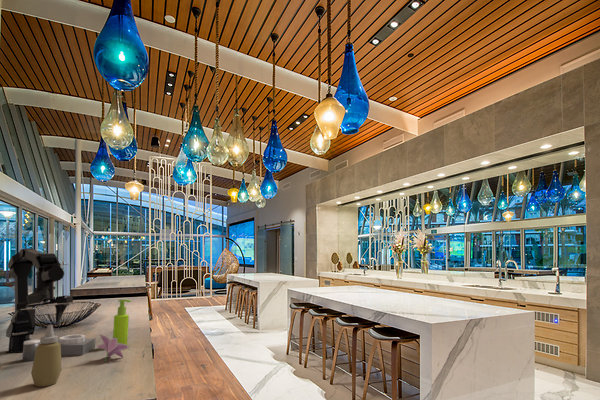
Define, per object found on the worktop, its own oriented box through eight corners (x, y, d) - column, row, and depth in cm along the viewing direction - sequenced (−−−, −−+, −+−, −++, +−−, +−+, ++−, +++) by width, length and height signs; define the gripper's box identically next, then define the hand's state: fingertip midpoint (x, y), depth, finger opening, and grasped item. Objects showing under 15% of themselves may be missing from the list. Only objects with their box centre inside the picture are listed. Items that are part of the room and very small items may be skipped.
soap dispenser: (123, 348, 169) (126, 300, 171) (109, 347, 170) (112, 300, 173) (132, 345, 174) (134, 299, 177) (118, 344, 176) (120, 298, 178)
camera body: (45, 356, 156) (47, 340, 157) (61, 348, 168) (62, 334, 169) (82, 355, 158) (83, 339, 158) (95, 347, 169) (96, 333, 170)
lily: (130, 363, 149) (136, 338, 155) (102, 357, 141) (109, 330, 147) (111, 369, 155) (117, 344, 160) (83, 363, 147) (90, 337, 153)
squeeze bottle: (39, 380, 127) (44, 323, 129) (65, 379, 128) (69, 322, 130) (24, 389, 119) (29, 327, 121) (52, 388, 120) (56, 327, 122)
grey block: (19, 362, 148) (20, 342, 149) (27, 358, 153) (28, 339, 154) (33, 361, 149) (35, 342, 150) (41, 357, 154) (42, 339, 155)
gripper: (6, 287, 147) (5, 330, 143) (59, 280, 149) (59, 322, 145) (24, 288, 158) (24, 328, 154) (73, 281, 160) (73, 321, 156)
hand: (44, 325), depth 152 cm, fingers open, 9 cm apart
